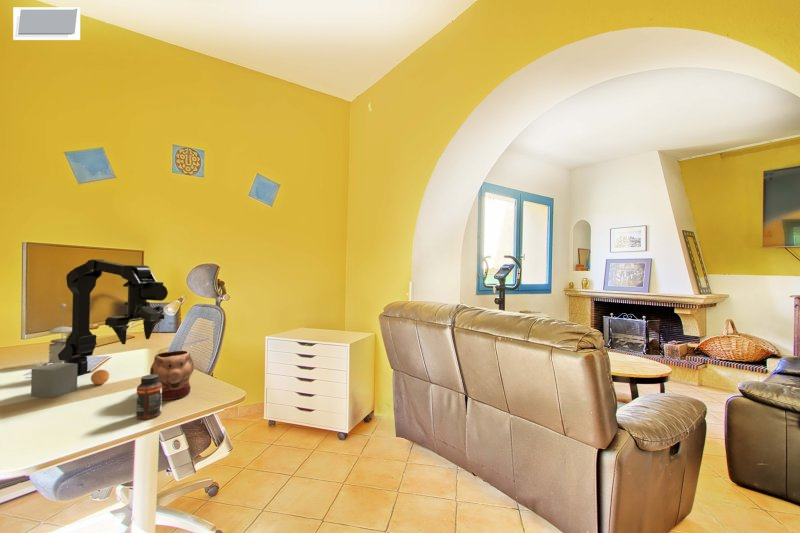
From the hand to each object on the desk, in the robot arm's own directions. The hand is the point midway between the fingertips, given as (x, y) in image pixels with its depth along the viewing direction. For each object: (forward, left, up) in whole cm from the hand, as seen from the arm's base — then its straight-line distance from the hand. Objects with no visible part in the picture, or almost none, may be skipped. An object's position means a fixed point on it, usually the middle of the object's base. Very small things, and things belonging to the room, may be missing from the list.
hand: (135, 341), depth 131 cm
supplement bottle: (+29, -26, -14) cm, 42 cm away
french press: (-47, +14, -14) cm, 51 cm away
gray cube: (-14, -16, -14) cm, 26 cm away
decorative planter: (+23, -10, -14) cm, 29 cm away
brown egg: (-8, -6, -12) cm, 15 cm away
